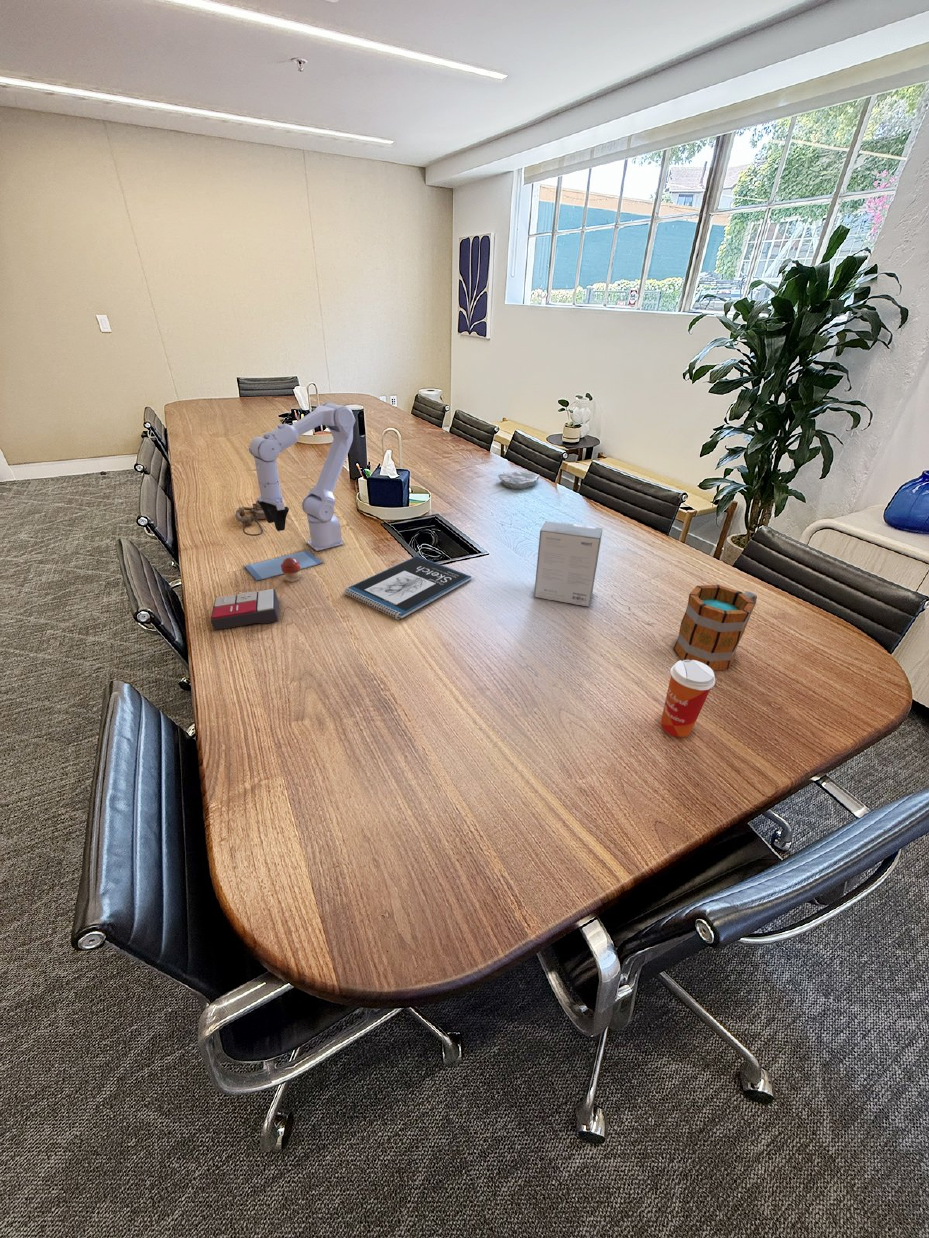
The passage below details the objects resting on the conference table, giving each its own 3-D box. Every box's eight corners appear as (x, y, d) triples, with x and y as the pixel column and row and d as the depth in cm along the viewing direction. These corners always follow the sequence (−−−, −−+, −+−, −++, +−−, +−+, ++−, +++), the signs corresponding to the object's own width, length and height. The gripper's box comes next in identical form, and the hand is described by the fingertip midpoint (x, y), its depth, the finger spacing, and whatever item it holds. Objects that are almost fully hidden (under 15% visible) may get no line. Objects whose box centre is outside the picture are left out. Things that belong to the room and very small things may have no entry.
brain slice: (512, 475, 239) (512, 468, 237) (544, 482, 231) (545, 475, 229) (489, 485, 225) (489, 478, 224) (522, 493, 217) (523, 486, 215)
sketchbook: (471, 580, 150) (471, 574, 148) (398, 622, 129) (398, 615, 128) (417, 559, 161) (417, 553, 160) (342, 594, 140) (341, 588, 139)
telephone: (239, 540, 169) (236, 528, 167) (235, 508, 195) (233, 497, 192) (286, 536, 174) (285, 524, 172) (276, 505, 200) (275, 494, 198)
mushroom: (298, 573, 151) (294, 552, 147) (305, 579, 147) (301, 559, 144) (280, 577, 148) (276, 557, 145) (287, 584, 145) (283, 563, 141)
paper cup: (648, 714, 102) (665, 658, 95) (685, 712, 103) (704, 656, 96) (665, 743, 96) (683, 685, 88) (704, 741, 96) (726, 683, 89)
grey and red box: (213, 596, 131) (274, 586, 135) (218, 610, 133) (278, 600, 137) (209, 618, 122) (274, 606, 126) (214, 632, 125) (278, 621, 128)
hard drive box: (592, 594, 143) (604, 528, 133) (589, 607, 137) (601, 538, 127) (538, 585, 148) (545, 519, 137) (532, 597, 141) (539, 529, 131)
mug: (707, 678, 113) (728, 620, 105) (660, 646, 122) (675, 592, 114) (763, 654, 121) (786, 599, 113) (715, 626, 131) (733, 574, 123)
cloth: (308, 551, 164) (308, 550, 164) (322, 563, 157) (322, 562, 156) (244, 567, 154) (244, 566, 153) (256, 581, 146) (256, 580, 146)
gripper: (246, 477, 150) (254, 521, 157) (263, 490, 140) (271, 536, 147) (270, 474, 153) (277, 517, 160) (288, 486, 144) (295, 531, 151)
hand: (276, 526), depth 154 cm, fingers open, 7 cm apart
